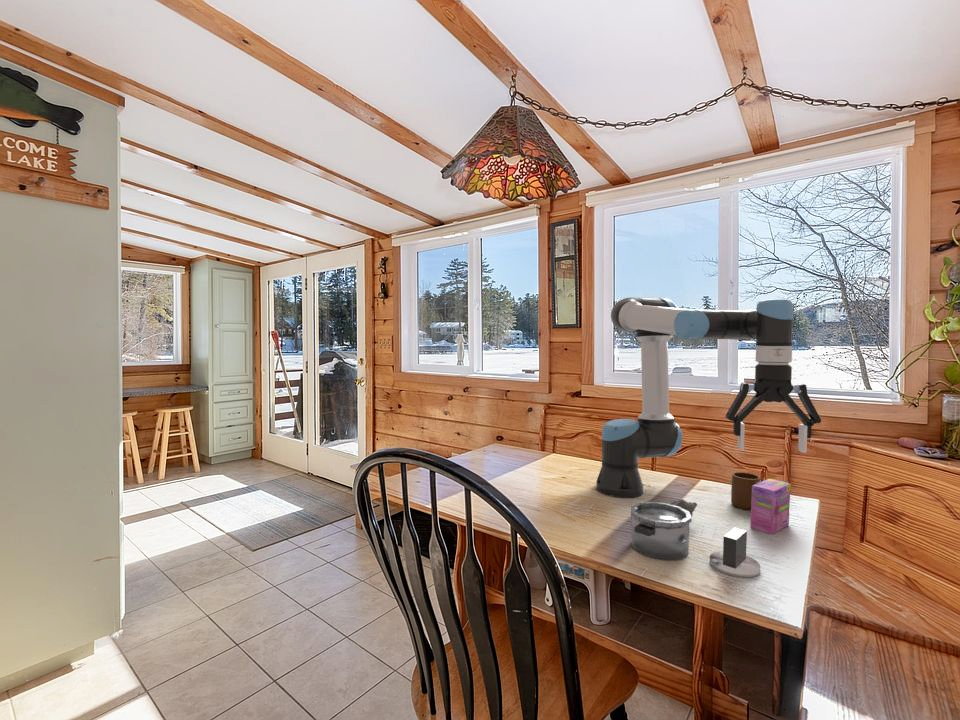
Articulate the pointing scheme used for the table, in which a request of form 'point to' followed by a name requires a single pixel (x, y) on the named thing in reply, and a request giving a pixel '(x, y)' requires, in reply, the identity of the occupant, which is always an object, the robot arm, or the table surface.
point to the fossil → (684, 505)
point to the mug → (743, 489)
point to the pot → (660, 530)
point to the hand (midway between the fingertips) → (771, 450)
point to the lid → (735, 556)
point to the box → (770, 505)
